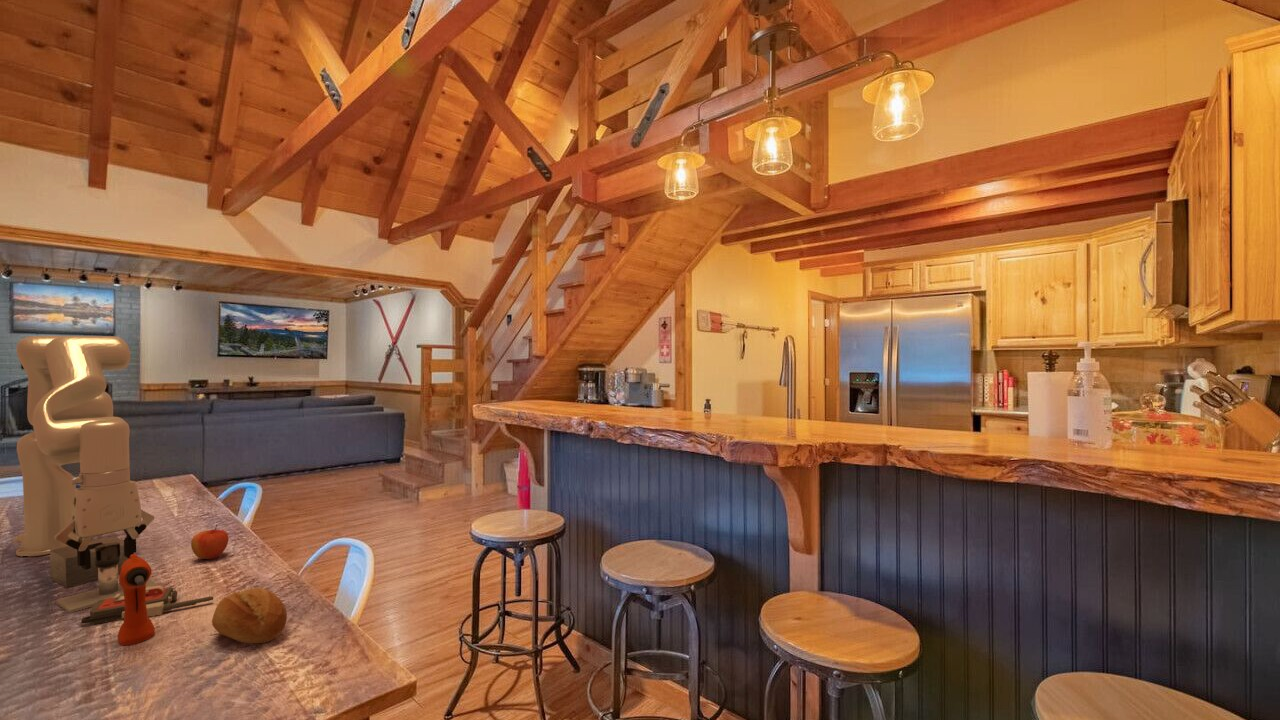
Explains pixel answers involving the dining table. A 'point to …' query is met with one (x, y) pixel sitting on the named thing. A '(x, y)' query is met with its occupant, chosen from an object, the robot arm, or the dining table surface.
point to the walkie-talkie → (155, 601)
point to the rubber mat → (90, 598)
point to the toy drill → (135, 601)
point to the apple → (209, 543)
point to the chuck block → (67, 566)
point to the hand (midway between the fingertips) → (107, 561)
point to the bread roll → (250, 616)
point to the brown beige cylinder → (107, 567)
